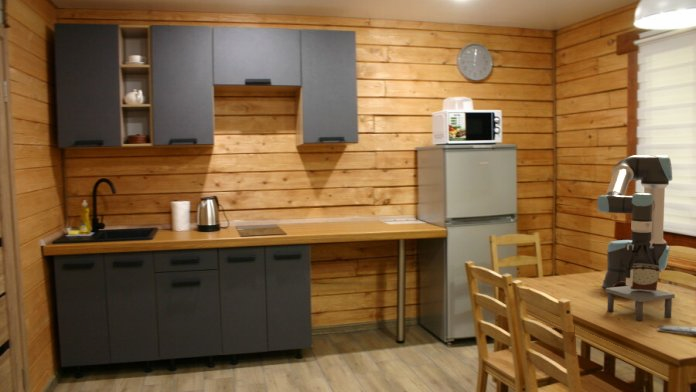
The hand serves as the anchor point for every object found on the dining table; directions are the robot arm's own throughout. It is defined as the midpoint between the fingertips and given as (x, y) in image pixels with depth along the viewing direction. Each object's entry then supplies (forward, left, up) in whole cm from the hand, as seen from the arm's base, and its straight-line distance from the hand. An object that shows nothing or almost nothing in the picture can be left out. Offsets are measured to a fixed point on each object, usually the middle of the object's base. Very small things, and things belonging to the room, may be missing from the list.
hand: (639, 284), depth 240 cm
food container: (-1, 0, -2) cm, 3 cm away
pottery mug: (-16, -25, -13) cm, 32 cm away
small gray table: (0, 0, -12) cm, 12 cm away
